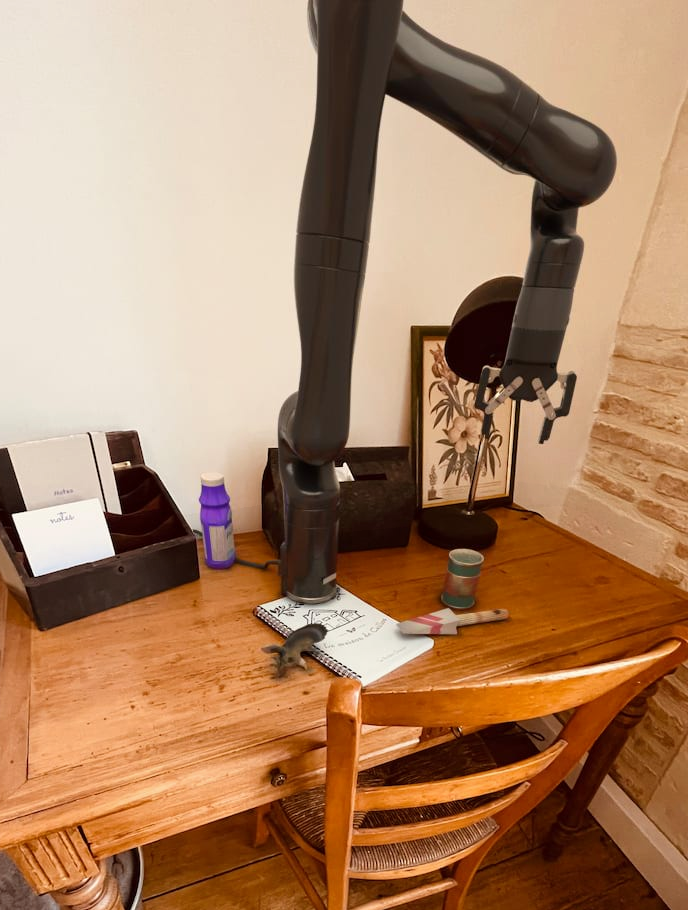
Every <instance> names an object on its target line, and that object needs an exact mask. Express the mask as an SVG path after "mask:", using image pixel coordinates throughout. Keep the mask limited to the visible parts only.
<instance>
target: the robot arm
mask: <svg viewBox="0 0 688 910" xmlns="http://www.w3.org/2000/svg"><path fill="white" fill-rule="evenodd" d="M306 8H307V9H306V22H307V30H308V31H307V32H308V35H309V39H310V43H311V45H312V47H313V50H314V52H315V55H316V56H317V58H316V59H317V60H316V61H317V62H316V93H315V94H316V95H315V96H316V97H315V111H314V121H313V128H312V134H311V140H310V145H309V149H308V155H307V158H306V159H307V160H306V163H305V169H304V174H303V180H302V185H301V191H300V197H299V203H298V212H297V221H296V229H295V243H294V244H295V245H294V262H293V294H294V304H295V312H296V320H297V327H298V334H299V342H300V373H299V382H298V387H297V388H298V389H297V391H294V392H292V393H291V394H290V395H289V396H288V397H287V398H286V399H285V400H284V401H283V403H282V405H281V407H280V410H279V413H278V417H277V450H278V470H279V471H278V472H279V478H280V483H281V487H282V488H281V489H282V501H283V503H282V504H283V542H282V544H281V545H280V548H279V553H280V555H279V556H280V559H279V560H268V561H266V562H265V563H264V564H259V563H253V562H249V561H246V560H243V559H240V558H239V557H235V560H234V562H235V563H238V564H240V565H243V566H249V567H252V568H256V569H262V570H263V569H264V570H265V569H268V568H269V566H272V565H273V566H275V565H276V566H277V576H280V586H281V589H280V590H281V595H282V596H286V597H288V599H290V600H292V601H294V602H297V603H301V604H307V605H308V604H309V605H310V604H311V605H315V604H322V603H325V602H328V601H330V600H331V599H333V598H335V596H336V594H337V589H338V588H337V573H338V572H337V571H338V551H339V528H340V527H339V526H340V525H339V524H340V503H341V501H340V500H341V485H340V481H339V479H338V475H337V472H336V471H337V470H336V465H335V461H336V460H337V459H338V458H339V457H340V456H341V454H343V452H344V450H345V448H346V446H347V444H348V441H349V437H350V433H351V432H350V430H351V411H352V409H351V407H352V383H353V382H352V380H353V379H352V378H353V366H354V357H355V349H356V345H357V344H356V343H357V336H358V329H359V323H360V315H361V308H362V307H361V306H362V299H363V293H364V287H365V282H366V281H365V280H366V273H367V266H368V257H369V250H370V243H371V242H370V241H371V232H372V222H373V214H374V213H373V211H374V201H375V192H376V191H375V190H376V181H377V166H378V150H379V140H380V139H379V138H380V131H381V123H382V117H383V110H384V104H385V100H386V96H387V97H390V98H391V99H394V100H395V101H397V102H399V103H401V104H403V105H406V106H407V107H409V108H410V109H412V110H415V111H416V112H418V113H419V114H421V115H423V116H424V117H426V118H427V119H429V120H431V121H432V122H434V123H436V124H437V125H439V126H440V127H441V128H443V129H445V130H447V131H448V132H449V133H450V134H452V135H454V136H455V137H457V138H458V139H459V140H461V141H462V142H464V143H465V144H466V145H467V146H469V147H471V148H472V149H473V150H475V152H477V153H479V154H480V155H482V156H483V157H484V158H486V159H488V160H489V162H492V163H493V164H494V165H496V166H498V167H499V168H500V169H502V170H503V171H506V172H507V173H509V174H512V175H516V176H517V175H518V176H526V177H530V178H532V179H533V180H534V182H533V188H532V194H531V203H530V206H531V207H530V209H531V210H530V229H529V235H530V239H529V241H530V243H529V245H530V246H529V252H528V257H527V261H526V265H525V270H524V275H523V280H522V284H521V285H522V286H521V290H520V293H519V296H518V299H517V302H516V306H515V309H514V310H515V311H514V315H513V318H512V325H511V330H510V336H509V341H508V345H507V350H506V354H505V360H504V363H503V365H502V367H501V368H499V367H491V366H490V365H488V364H487V365H484V366H483V367H482V370H481V374H480V379H479V383H478V387H477V391H476V395H475V399H474V405H473V407H474V409H476V410H478V411H481V412H483V420H482V425H481V429H480V433H481V436H484V438H483V439H484V440H489V439H490V434H491V429H492V423H493V419H494V412H495V411H496V409H497V408H498V407H499V406H500V405H502V404H503V403H504V402H505V401H506V400H507V399H510V400H511V401H515V402H518V401H525V402H527V403H533V402H535V401H537V400H538V401H539V403H540V405H541V407H542V409H543V411H544V414H545V416H544V417H543V419H542V423H541V428H540V432H539V435H538V440H537V443H538V445H544V444H545V441H548V440H549V439H550V436H551V433H552V430H553V426H554V422H555V420H556V419H558V418H563V417H567V416H569V414H570V410H571V407H572V402H573V397H574V393H575V388H576V384H577V378H578V376H577V374H576V373H575V371H573V370H570V371H568V372H558V369H557V368H558V363H559V359H560V355H561V351H562V348H563V343H564V340H565V336H566V331H567V328H568V325H569V323H570V319H571V318H570V317H571V312H572V307H573V303H574V293H575V288H576V285H577V281H578V277H579V273H580V269H581V264H582V261H583V256H584V252H585V251H584V250H585V241H584V238H583V237H582V236H581V235H579V234H578V232H577V226H578V217H579V210H580V208H584V207H587V206H590V205H592V204H594V203H595V202H596V201H598V200H600V199H601V197H603V196H604V194H605V193H606V192H607V191H608V190H609V188H610V186H611V185H612V183H613V182H614V181H613V180H614V179H615V176H616V171H617V167H618V158H617V157H618V155H617V151H616V146H615V145H614V142H613V140H612V139H611V138H610V136H609V134H607V133H606V132H605V131H604V130H603V129H602V128H601V127H600V126H598V125H596V124H595V123H593V122H591V121H590V120H587V119H585V118H583V117H581V116H579V115H577V114H575V113H572V112H571V111H568V110H566V109H563V108H560V107H558V106H556V105H553V104H552V103H550V102H548V101H547V100H546V99H545V98H544V97H543V96H542V94H540V93H539V92H537V91H536V90H535V89H534V88H532V87H531V86H530V85H529V84H527V83H526V82H525V81H524V80H522V79H521V78H519V77H518V76H517V75H516V74H515V73H513V72H512V71H510V70H509V69H507V68H505V67H503V66H502V65H500V64H498V63H496V62H494V61H493V60H490V59H488V58H486V57H483V56H481V55H479V54H476V53H473V52H471V51H468V50H465V49H462V48H460V47H457V46H455V45H453V44H450V43H448V42H447V41H445V40H443V39H440V38H439V37H437V36H435V35H434V34H432V33H430V32H429V31H427V30H426V29H425V28H423V27H422V26H420V25H419V24H418V23H417V22H415V21H414V20H413V18H411V17H410V16H409V15H408V13H406V12H405V11H404V10H403V9H404V0H307V7H306ZM497 377H498V378H499V381H500V382H501V385H502V388H501V389H500V390H499V391H498V392H497V393H496V394H495V395H494V396H493V397H492V398H491V399H490V400H489V401H488V402H487V401H486V400H484V399H485V395H486V392H487V391H486V390H487V387H488V384H491V383H493V382H494V380H495V379H496V378H497ZM557 381H558V382H559V386H560V389H562V396H561V401H560V405H559V406H558V407H553V404H552V402H551V400H550V397H549V395H548V393H547V391H548V390H549V389H550V388H551V387H553V385H555V383H556V382H557ZM192 530H193V532H194V533H193V534H196V535H199V536H200V537H201V538H203V535H202V531H200V530H198V529H192Z"/></svg>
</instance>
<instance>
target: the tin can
mask: <svg viewBox="0 0 688 910" xmlns="http://www.w3.org/2000/svg"><path fill="white" fill-rule="evenodd" d="M484 560H485V558H484V555H482V554H481V553H480V552H478V551H475V550H473V549H470V548H469V549H468V548H456V549H453V550H451V551H450V552H449V554H448V561H447V567H446V571H445V576H444V581H443V588H442V594H441V597H440V602H441V604H442V605H444V606H445V607H446V608H449V609H450V610H454V611H466V610H470V609H472V608H473V607H474V605H475V598H476V593H477V590H478V586H479V581H480V577H481V573H482V566H483V563H484Z"/></svg>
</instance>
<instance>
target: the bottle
mask: <svg viewBox="0 0 688 910" xmlns="http://www.w3.org/2000/svg"><path fill="white" fill-rule="evenodd" d="M200 487H201V488H200V489H201V491H200V495H199V498H198V502H199V504H200V509H199V510H200V511H199V520H200V526H201V527H200V528H201V532H202V535H203V537H202V542H203V543H202V544H203V553H204V560H205V563H206V565H207V567H208V568H211V569H214V570H225V569H229V568H230V567H231V566H232V565H233V564H234V562H235V561H234V560H235V558H236V548H235V538H234V527H233V511H232V507H231V505H230V502H231V497H230V495H229V494H228V492H227V489H226V485H225V477H224V474H223V473H221V472H216V471H210V472H205V473H203V474H201V475H200Z"/></svg>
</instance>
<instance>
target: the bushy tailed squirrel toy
mask: <svg viewBox="0 0 688 910" xmlns="http://www.w3.org/2000/svg"><path fill="white" fill-rule="evenodd" d="M328 632H329V630H328V629H327V626H326V625H325V624H322V623H319V622H317V623H316V622H314V623H308V624H306V625H303V626H301V627H299V628H297V629H295V630H293V631H291V632H290V633H288V635H287V637H286V639H285V641H284V643H283V644H282V645H277V644H274V643H271V644H267V645H264V646H262V647H260V651H261V652H263V653H264V654H266V655H272V654H278V656H279V657H278V656H271V657H270V659H273V660H275V662H276V663H269V666H270V667H274V668H276V669H277V673H276V677H277V678H279V677H280V676H282V675H284V673H285V672H286V670H287V669H289V668H294V667H296V666H297V665H299V666H300V667H302V668H304V669H305V670H306V671H307V670H308V666H307V662H306V661H305V659H303V658H302V656H301V653H302V652H315V648H313V645H314V644H318V643H320V642H322V641H324V640H325V639H326V636H327V635H328Z"/></svg>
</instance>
